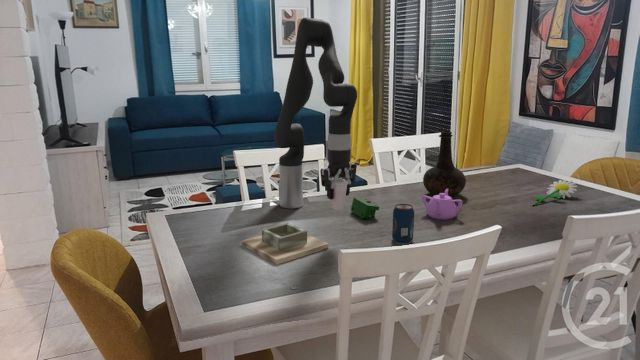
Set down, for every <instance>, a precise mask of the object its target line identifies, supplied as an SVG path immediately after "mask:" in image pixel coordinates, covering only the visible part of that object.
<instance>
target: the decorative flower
mask: <svg viewBox="0 0 640 360" xmlns="http://www.w3.org/2000/svg"><path fill="white" fill-rule="evenodd" d="M552 183H553V184H549V185H548V186H549V187H547V188H546V189H547V192H546V193H547V194H546V195H545V196H544V195H540V194H538V195H535V196H534V197H535V198H536V199H537V200H538V201H536V202H535V203H533V204H531V205H532V206H531V207H534V206H533V205H535V206H537V205H538V204H540V203H541V202H543V201H545V200H546V199H548V198H552V197H555V198H556V199H557V198H560V199H561V198H563V200H564V199H565V198H566V197H568V198H571V195H570V194H575V192H578V190H577V189H576V188H578V185H576V184H577V182H573V180H569V181H567V179H563V180H562V179H560V180H558V181H553V182H552ZM547 195H548V196H547Z"/></svg>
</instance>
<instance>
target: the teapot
mask: <svg viewBox="0 0 640 360" xmlns="http://www.w3.org/2000/svg"><path fill="white" fill-rule="evenodd" d="M427 199H428V200H429V201H428V203H427ZM421 201H422V203H423V205H424V207H425V212H426V215H427V216H429V217H430V218H431V219H435V220H445V221H447V220H451V219H453V218H455V217H456V216H457V212H458V211H459V209H460V208H461V207H462V205H463V200H462V199H453V198H452V197H450V196H448V189H446V190H445V193H439V195H435V196H434V195H432V196H428V195H422V198H421ZM456 203H458V204H457V206H456Z"/></svg>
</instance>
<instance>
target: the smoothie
mask: <svg viewBox="0 0 640 360" xmlns="http://www.w3.org/2000/svg"><path fill="white" fill-rule="evenodd" d="M332 179H333V177H332ZM331 182H332V181H330V184H331ZM347 184H348V180H346V179H342V178H339V179H338V180H337V182H335V183H334V187H333V188H334V199H332V200H331V206H332V209H333V210H335V211H342V210H344V209H345V202H346V190H347Z"/></svg>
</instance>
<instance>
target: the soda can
mask: <svg viewBox="0 0 640 360" xmlns="http://www.w3.org/2000/svg"><path fill="white" fill-rule="evenodd" d="M414 226H415V210H414V206H413V205H412V204H408V203H398V204H395V206H394V209H393V211H392V227H391V228H392V230H391V232H392V233H391V237H392V239H393V241H394V242H395V243H396V244H401V245H407V244H411V242H412V241H413V239H414V233H415V232H414V230H415V229H414Z"/></svg>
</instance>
